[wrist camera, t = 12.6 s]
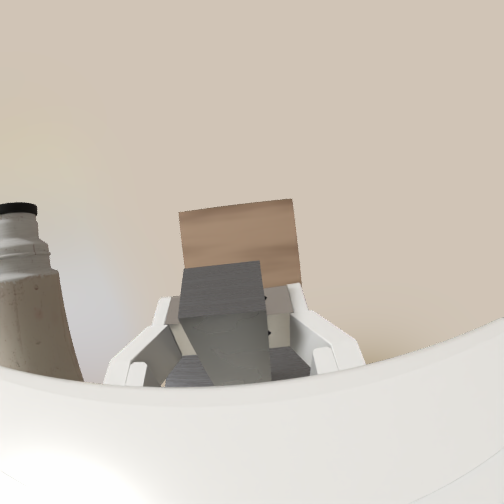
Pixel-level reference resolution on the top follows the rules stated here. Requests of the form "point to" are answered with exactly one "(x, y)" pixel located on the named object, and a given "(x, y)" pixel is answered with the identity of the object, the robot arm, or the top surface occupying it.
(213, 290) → the brushed metal plate
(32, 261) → the thermos bottle
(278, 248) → the pedestal
